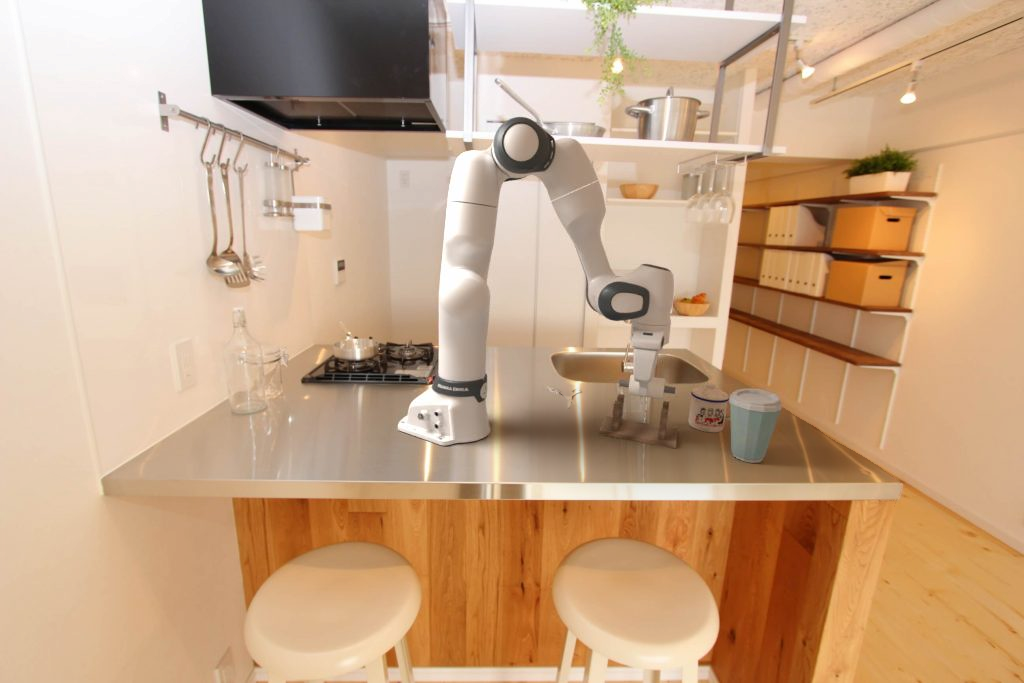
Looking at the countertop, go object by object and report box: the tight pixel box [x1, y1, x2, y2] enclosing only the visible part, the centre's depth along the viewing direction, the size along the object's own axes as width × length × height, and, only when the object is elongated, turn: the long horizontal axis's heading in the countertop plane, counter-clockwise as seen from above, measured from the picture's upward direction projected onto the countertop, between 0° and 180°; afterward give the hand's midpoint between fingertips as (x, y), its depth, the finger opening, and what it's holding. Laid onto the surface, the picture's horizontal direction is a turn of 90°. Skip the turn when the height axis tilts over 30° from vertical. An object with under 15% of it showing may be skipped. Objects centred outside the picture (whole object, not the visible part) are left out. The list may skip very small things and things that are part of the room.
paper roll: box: [618, 374, 676, 400], centre depth 115 cm, size 13×5×5 cm
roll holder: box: [598, 393, 679, 449], centre depth 117 cm, size 18×10×8 cm, turn 69°
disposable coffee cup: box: [728, 388, 783, 464], centre depth 107 cm, size 11×11×15 cm
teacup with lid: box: [687, 382, 731, 433], centre depth 123 cm, size 12×9×12 cm
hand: (644, 389), depth 116 cm, fingers closed on paper roll, 5 cm apart
